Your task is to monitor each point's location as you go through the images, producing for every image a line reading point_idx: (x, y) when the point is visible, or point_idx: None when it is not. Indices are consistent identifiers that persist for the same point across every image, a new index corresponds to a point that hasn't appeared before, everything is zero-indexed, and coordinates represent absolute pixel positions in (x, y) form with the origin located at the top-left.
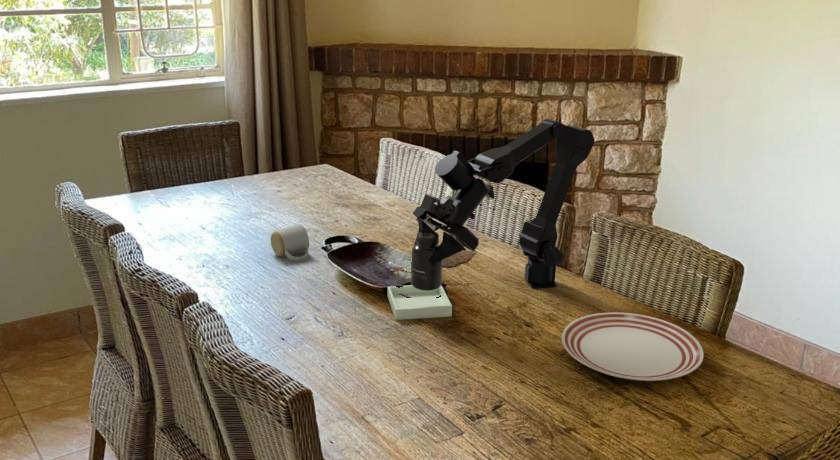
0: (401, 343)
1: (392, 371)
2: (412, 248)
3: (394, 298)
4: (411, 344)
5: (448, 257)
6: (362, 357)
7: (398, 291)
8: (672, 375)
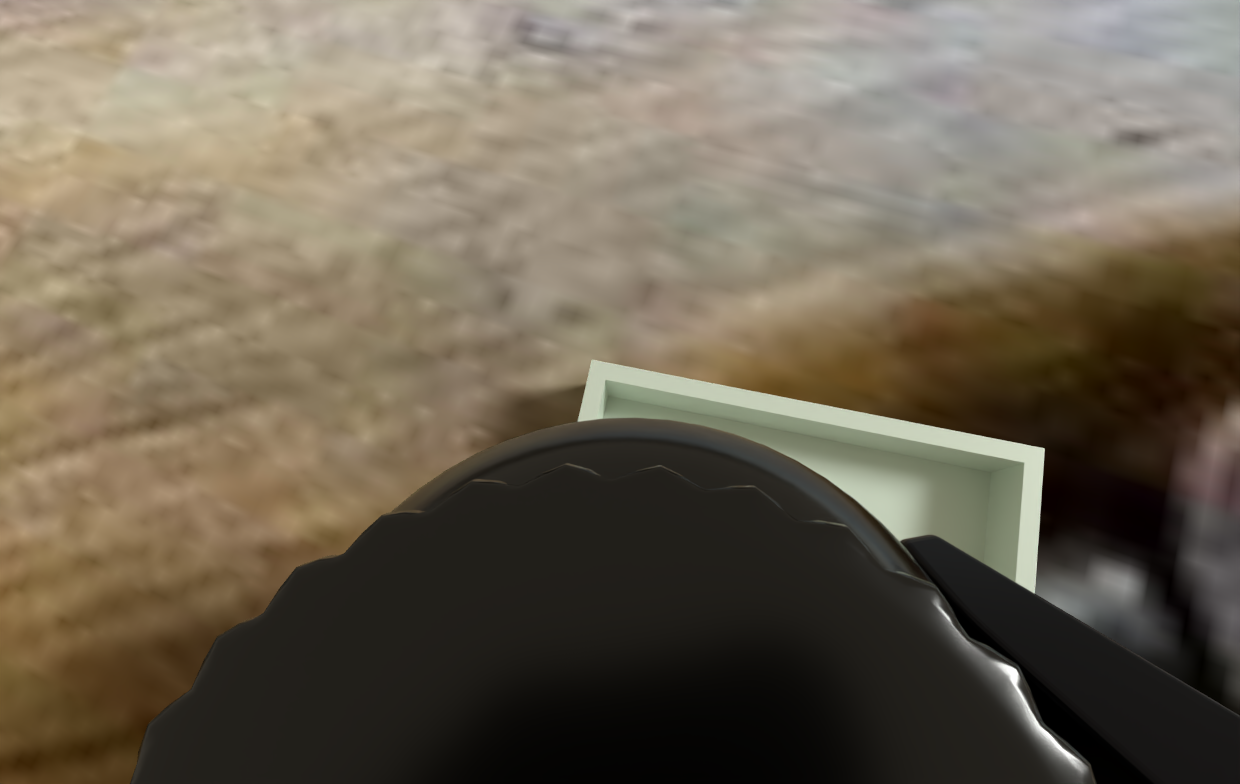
0: (280, 308)
1: (21, 161)
2: (759, 448)
3: (914, 482)
4: (240, 359)
5: None
6: (235, 69)
7: (997, 539)
8: None
